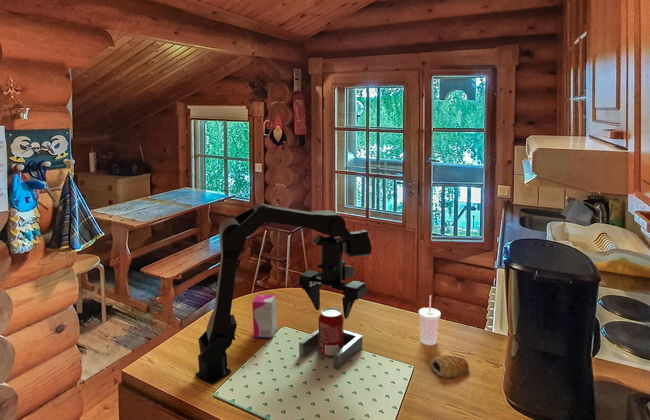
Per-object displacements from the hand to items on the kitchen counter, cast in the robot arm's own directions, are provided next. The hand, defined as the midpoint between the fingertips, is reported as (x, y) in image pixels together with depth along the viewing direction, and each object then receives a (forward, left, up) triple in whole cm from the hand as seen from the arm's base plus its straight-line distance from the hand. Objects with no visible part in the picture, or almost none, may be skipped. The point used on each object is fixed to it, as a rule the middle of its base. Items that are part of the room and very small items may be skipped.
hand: (331, 313), depth 119 cm
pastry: (+9, -29, -12) cm, 33 cm away
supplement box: (-3, +22, -12) cm, 25 cm away
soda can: (0, 0, -12) cm, 12 cm away
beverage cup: (+20, -20, -12) cm, 31 cm away
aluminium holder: (0, 0, -11) cm, 11 cm away
